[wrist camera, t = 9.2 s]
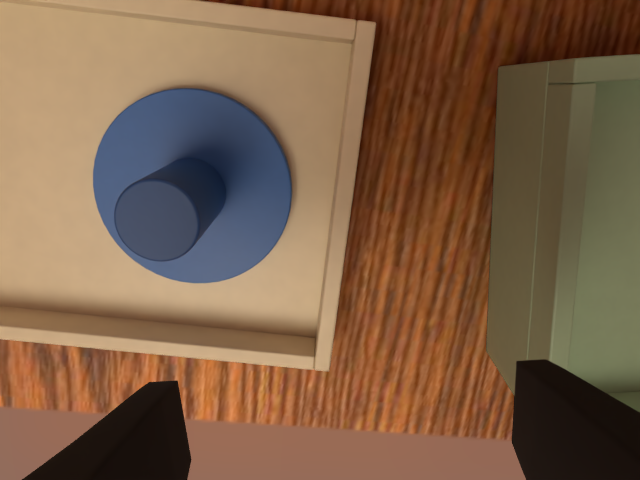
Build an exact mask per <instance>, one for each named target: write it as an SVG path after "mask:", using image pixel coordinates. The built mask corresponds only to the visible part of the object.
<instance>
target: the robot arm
mask: <svg viewBox="0 0 640 480" xmlns="http://www.w3.org/2000/svg"><path fill="white" fill-rule="evenodd" d="M512 444H513V446H514V449H515V452H516V455H517V457H518V460H519V463H520V465H521V468H522V470H523V473H524V475H525V477H526V480H640V412H638V411H637V410H635V409H633V408H631V407H630V406H628V405H626V404H624V403H623V402H621V401H619V400H617V399H616V398H614V397H612V396H610V395H609V394H607V393H605V392H603V391H602V390H600V389H598V388H597V387H595V386H593V385H592V384H590V383H588V382H586V381H585V380H583V379H581V378H580V377H578V376H576V375H574V374H573V373H571V372H569V371H567V370H566V369H564V368H562V367H560V366H558V365H556V364H555V363H552V362H550V361H548V360H546V359H541V360H524V361H516V378H515V395H514V413H513V430H512ZM190 463H191V456H190V450H189V444H188V438H187V432H186V427H185V421H184V415H183V410H182V404H181V398H180V392H179V387H178V381H162V382H149V383H148V384H146V385H145V386H143V387H142V388H140V389H139V390H138V391H137V392H135V393H134V394H133V395H131V396H130V397H129V398H128V399H126V400H125V401H124V402H123V403H121V404H120V405H119V406H118V407H116V408H115V409H114V410H113V411H112V412H110V413H109V414H108V415H107V416H105V417H104V418H103V419H102V420H100V421H99V422H98V423H97V424H95V425H94V426H93V427H92V428H90V429H89V430H88V431H87V432H85V433H84V434H83V435H82V436H80V437H79V438H78V439H77V440H75V441H74V442H73V443H71V444H70V445H69V446H67V447H66V448H65V449H63V450H62V451H61V452H59V453H58V454H56V455H55V456H54V457H52V458H51V459H50V460H48V461H47V462H46V463H44V464H43V465H42V466H40V467H39V468H37V469H36V470H35V471H33V472H32V473H31V474H29V475H28V476H27V477H25V478H24V479H22V480H187V477H188V473H189V468H190Z"/></svg>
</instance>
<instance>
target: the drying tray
mask: <svg viewBox="0 0 640 480" xmlns="http://www.w3.org/2000/svg"><path fill="white" fill-rule="evenodd" d="M375 30H376V23H375V22H372V21H363V20H358V21H356V20H355V19H347V18H339V17H331V16H323V15H315V14H307V13H299V12H290V11H282V10H274V9H266V8H258V7H250V6H242V5H233V4H225V3H217V2H209V1H201V0H0V339H4V340H15V341H25V342H35V343H45V344H55V345H65V346H76V347H86V348H96V349H106V350H116V351H126V352H136V353H147V354H157V355H167V356H177V357H187V358H197V359H208V360H218V361H228V362H238V363H248V364H258V365H268V366H279V367H289V368H299V369H309V370H313V368H314V370H319V371H329V370H330V363H331V356H332V348H333V341H334V334H335V326H336V319H337V311H338V304H339V297H340V289H341V282H342V274H343V267H344V260H345V252H346V245H347V237H348V230H349V223H350V215H351V208H352V200H353V193H354V186H355V178H356V171H357V164H358V156H359V149H360V141H361V134H362V127H363V119H364V112H365V104H366V97H367V90H368V82H369V75H370V67H371V60H372V53H373V45H374V38H375ZM177 88H197V89H204V90H210V91H214V92H217V93H221V94H223V95H226V96H228V97H231V98H233V99H235V100H237V101H238V102H240V103H242V104H244V105H245V106H247V107H248V108H249V109H251V110H252V111H253V112H255V113H256V114H257V115H258V116H259V117H260V118H261V119H262V120H263V121H264V122H265V123H266V124H267V125H268V126H269V128H270V129H271V130H272V132H273V133H274V134H275V136H276V137H277V139H278V141H279V143H280V144H281V146H282V148H283V151H284V153H285V155H286V158H287V161H288V164H289V168H290V172H291V179H292V202H291V209H290V213H289V217H288V220H287V224H286V226H285V228H284V231H283V233H282V235H281V237H280V239H279V240H278V242H277V244H276V245H275V246H274V248H273V249H272V250H271V252H270V253H269V254H268V255H267V256H266V257H265V258H264V259H263V260H262V261H261V262H259V263H258V264H257V265H255V266H254V267H253V268H251V269H250V270H248V271H246V272H244V273H242V274H241V275H238V276H236V277H233V278H230V279H227V280H223V281H219V282H212V283H187V282H180V281H176V280H172V279H168V278H166V277H163V276H160V275H157V274H155V273H154V272H152V271H150V270H148V269H146V268H144V267H143V266H141V265H140V264H138V263H137V262H135V261H134V260H133V259H132V258H131V257H129V256H128V255H127V254H126V253H125V252H124V251H123V250H122V249H121V248H120V247H119V246H118V245H117V243H116V242H115V241H114V239H113V238H112V236H111V235H110V234H109V232H108V230H107V228H106V227H105V225H104V223H103V221H102V219H101V216H100V214H99V211H98V208H97V204H96V201H95V196H94V189H93V169H94V161H95V157H96V153H97V150H98V146H99V144H100V142H101V140H102V137H103V135H104V134H105V132H106V130H107V129H108V127H109V126H110V124H111V123H112V122H113V121H114V120H115V118H116V117H117V116H118V115H119V114H120V113H121V112H122V111H124V110H125V109H126V108H127V107H128V106H130V105H131V104H133V103H134V102H136V101H138V100H139V99H141V98H143V97H146V96H148V95H150V94H153V93H156V92H160V91H163V90H169V89H177Z"/></svg>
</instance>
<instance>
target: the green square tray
mask: <svg viewBox="0 0 640 480" xmlns="http://www.w3.org/2000/svg"><path fill="white" fill-rule="evenodd" d="M486 351H487V353H488V355H489V356H490V358H491V359H492V361H493V363H494V364H495V366H496V367H497V369H498V371H499V372H500V374H501V375H502V377H503V378H504V380H505V382H506V383H507V385H508V386H509V388H510V390H511V391H512V393H513V394H514V395H515V378H516V361H524V360H541V359H546V360H548V361H550V362H552V363H555V364H556V365H558V366H560V367H562V368H564V369H566V370H567V371H569V372H571V373H573V374H574V375H576V376H578V377H580V378H581V379H583V380H585V381H586V382H588V383H590V384H592V385H593V386H595V387H597V388H598V389H600V390H602V391H603V392H605V393H607V394H609V395H610V396H612V397H614V398H616V399H617V400H619V401H621V402H623V403H624V404H626V405H628V406H630V407H631V408H633V409H635V410H637V411H638V412H640V54H630V55H615V56H600V57H585V58H573V59H563V60H554V61H545V62H536V63H526V64H517V65H508V66H500V67H499V68H498V84H497V107H496V131H495V154H494V178H493V201H492V225H491V248H490V272H489V296H488V319H487V343H486Z"/></svg>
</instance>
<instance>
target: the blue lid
mask: <svg viewBox="0 0 640 480" xmlns="http://www.w3.org/2000/svg"><path fill="white" fill-rule="evenodd" d="M93 189H94V196H95V201H96V204H97V208H98V211H99V214H100V216H101V219H102V221H103V223H104V225H105V227H106V228H107V230H108V232H109V234H110V235H111V236H112V238H113V239H114V241H115V242H116V243H117V245H118V246H119V247H120V248H121V249H122V250H123V251H124V252H125V253H126V254H127V255H128V256H129V257H131V258H132V259H133V260H134V261H135V262H137V263H138V264H140V265H141V266H143V267H144V268H146V269H148V270H150V271H152V272H154V273H155V274H157V275H160V276H163V277H166V278H168V279H172V280H176V281H180V282H187V283H212V282H219V281H223V280H227V279H230V278H233V277H236V276H238V275H241V274H242V273H244V272H246V271H248V270H250V269H251V268H253V267H254V266H255V265H257V264H258V263H259V262H261V261H262V260H263V259H264V258H265V257H266V256H267V255H268V254H269V253H270V252H271V250H272V249H273V248H274V246H275V245H276V244H277V242H278V240H279V239H280V237H281V235H282V233H283V231H284V228H285V226H286V224H287V220H288V217H289V213H290V209H291V202H292V179H291V172H290V168H289V164H288V161H287V158H286V155H285V153H284V151H283V148H282V146H281V144H280V143H279V141H278V139H277V137H276V136H275V134H274V133H273V132H272V130H271V129H270V128H269V126H268V125H267V124H266V123H265V122H264V121H263V120H262V119H261V118H260V117H259V116H258V115H257V114H256V113H255V112H253V111H252V110H251V109H249V108H248V107H247V106H245V105H244V104H242V103H240V102H238V101H237V100H235V99H233V98H231V97H228V96H226V95H223V94H221V93H217V92H214V91H210V90H204V89H197V88H177V89H169V90H163V91H160V92H156V93H153V94H150V95H148V96H146V97H143V98H141V99H139V100H138V101H136V102H134V103H133V104H131V105H130V106H128V107H127V108H126V109H125V110H124V111H122V112H121V113H120V114H119V115H118V116H117V117H116V118H115V120H114V121H113V122H112V123H111V124H110V126H109V127H108V129H107V130H106V132H105V134H104V135H103V137H102V140H101V142H100V144H99V146H98V150H97V153H96V157H95V161H94V169H93Z"/></svg>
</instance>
